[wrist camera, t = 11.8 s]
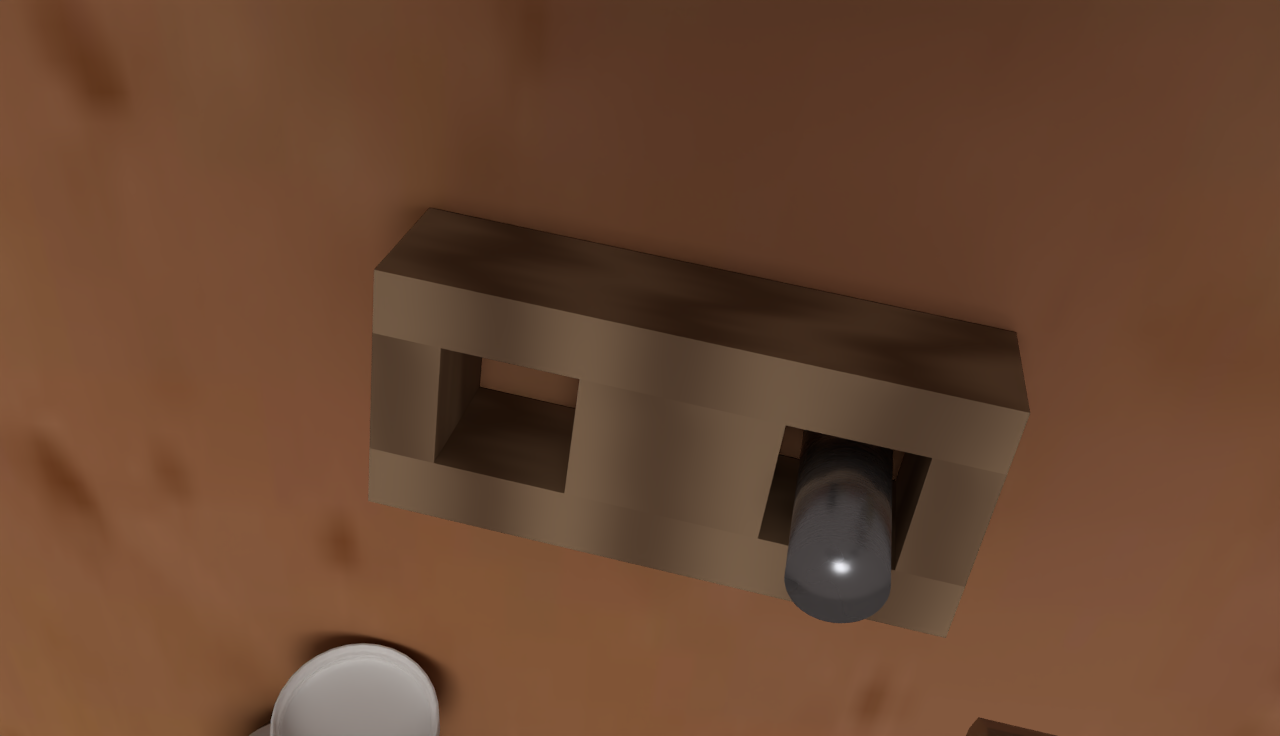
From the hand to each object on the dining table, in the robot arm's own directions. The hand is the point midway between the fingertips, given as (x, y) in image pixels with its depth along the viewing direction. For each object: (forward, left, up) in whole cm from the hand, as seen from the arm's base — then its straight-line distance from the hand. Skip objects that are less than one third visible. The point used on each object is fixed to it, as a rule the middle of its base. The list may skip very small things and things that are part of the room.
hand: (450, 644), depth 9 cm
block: (0, +15, -29) cm, 33 cm away
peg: (-6, +15, -29) cm, 33 cm away
